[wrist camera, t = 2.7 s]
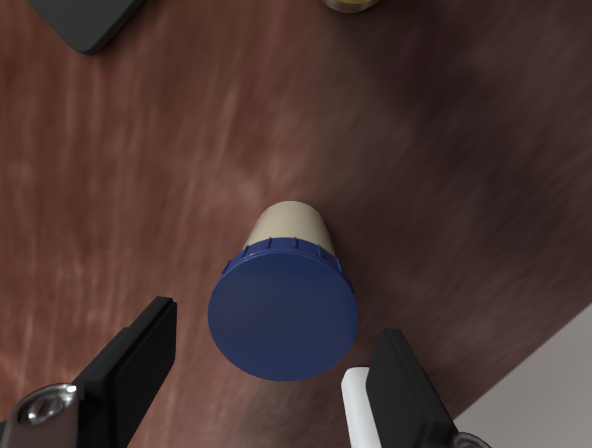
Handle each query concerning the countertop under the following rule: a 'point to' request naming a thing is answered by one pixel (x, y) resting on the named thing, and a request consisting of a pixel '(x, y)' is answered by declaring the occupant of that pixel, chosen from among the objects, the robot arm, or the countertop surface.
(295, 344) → the jar lid
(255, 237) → the mayonnaise jar
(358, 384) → the eye dropper bottle
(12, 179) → the countertop surface
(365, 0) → the sauce bottle
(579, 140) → the countertop surface
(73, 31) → the phone
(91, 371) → the robot arm
